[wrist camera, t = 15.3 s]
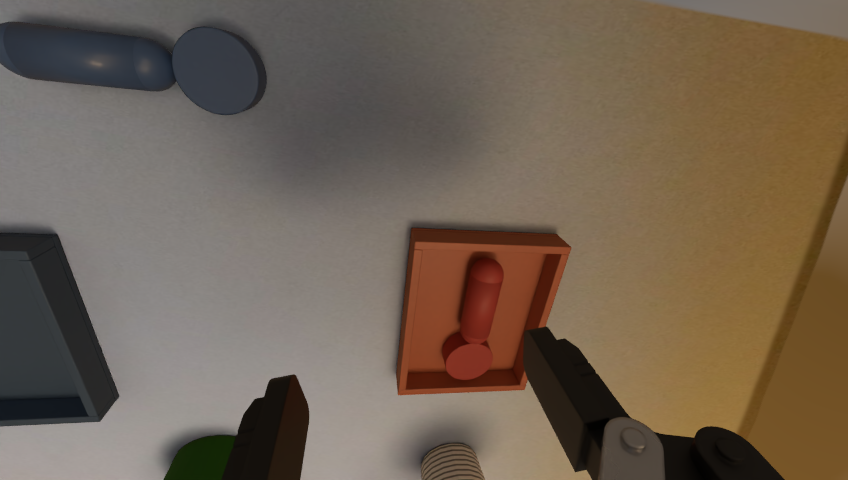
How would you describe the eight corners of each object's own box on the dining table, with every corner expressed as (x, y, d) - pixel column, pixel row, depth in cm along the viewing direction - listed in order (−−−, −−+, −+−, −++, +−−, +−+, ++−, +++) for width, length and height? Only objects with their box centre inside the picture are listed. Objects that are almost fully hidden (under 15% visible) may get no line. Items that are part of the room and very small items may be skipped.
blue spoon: (36, 93, 18) (-8, 96, 16) (5, 1, 16) (-50, -9, 14) (269, 115, 20) (257, 120, 18) (263, 35, 18) (249, 31, 16)
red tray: (411, 227, 24) (415, 241, 22) (556, 234, 26) (571, 247, 24) (396, 374, 31) (397, 395, 29) (515, 370, 32) (524, 390, 31)
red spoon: (459, 251, 25) (467, 268, 23) (510, 252, 26) (523, 269, 24) (438, 366, 30) (444, 388, 28) (482, 365, 31) (490, 387, 29)
